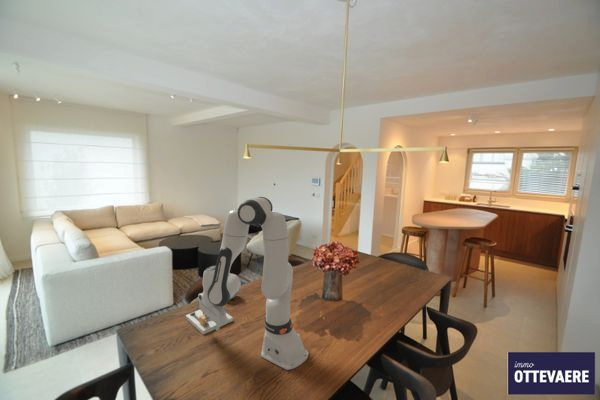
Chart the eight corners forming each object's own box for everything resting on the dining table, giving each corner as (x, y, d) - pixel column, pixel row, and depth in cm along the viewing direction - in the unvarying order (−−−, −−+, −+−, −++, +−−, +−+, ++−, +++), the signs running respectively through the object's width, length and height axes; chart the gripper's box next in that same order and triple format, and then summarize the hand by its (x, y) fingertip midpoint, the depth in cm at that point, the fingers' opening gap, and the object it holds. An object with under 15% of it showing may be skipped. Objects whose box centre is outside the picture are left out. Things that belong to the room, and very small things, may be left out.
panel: (232, 320, 144) (232, 311, 144) (203, 334, 132) (202, 324, 131) (214, 307, 158) (214, 298, 157) (185, 318, 145) (185, 309, 145)
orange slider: (207, 323, 137) (207, 317, 137) (203, 325, 135) (202, 319, 135) (203, 320, 140) (203, 314, 139) (199, 322, 138) (199, 316, 138)
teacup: (216, 298, 168) (215, 286, 167) (228, 292, 177) (228, 280, 176) (233, 304, 161) (232, 292, 160) (244, 297, 171) (244, 285, 170)
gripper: (229, 304, 124) (229, 332, 125) (208, 289, 137) (208, 314, 139) (217, 309, 119) (217, 338, 121) (196, 293, 133) (196, 319, 135)
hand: (212, 325), depth 130 cm, fingers open, 8 cm apart
